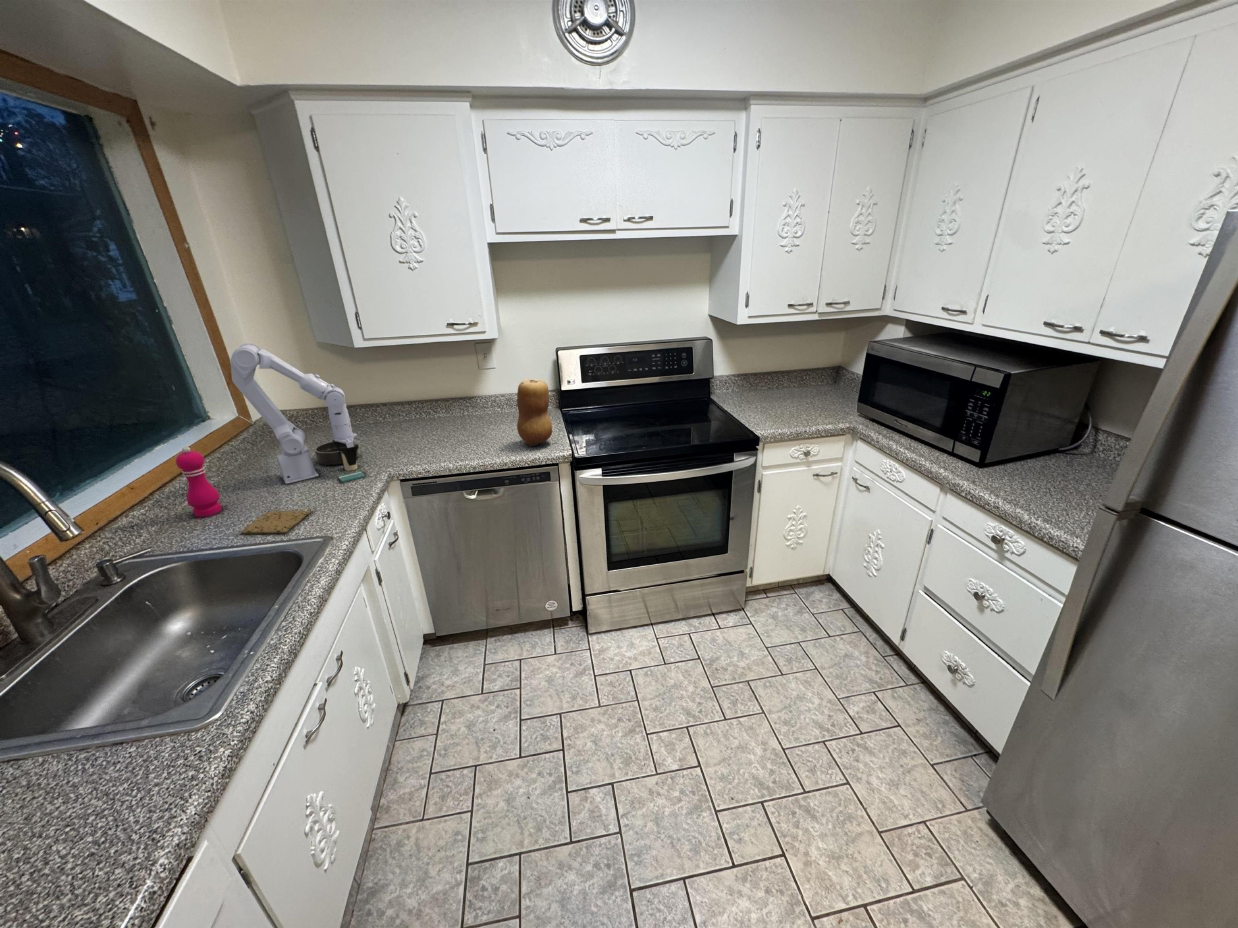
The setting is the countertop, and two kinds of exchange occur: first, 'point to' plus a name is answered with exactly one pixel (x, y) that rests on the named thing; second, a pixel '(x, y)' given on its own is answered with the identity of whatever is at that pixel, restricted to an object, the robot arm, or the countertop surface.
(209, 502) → the pepper mill
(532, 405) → the butternut squash
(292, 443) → the robot arm
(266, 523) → the brown square cork trivet
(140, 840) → the countertop surface
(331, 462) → the dark round bowl
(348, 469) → the spice jar
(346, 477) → the teal rectangular slab
